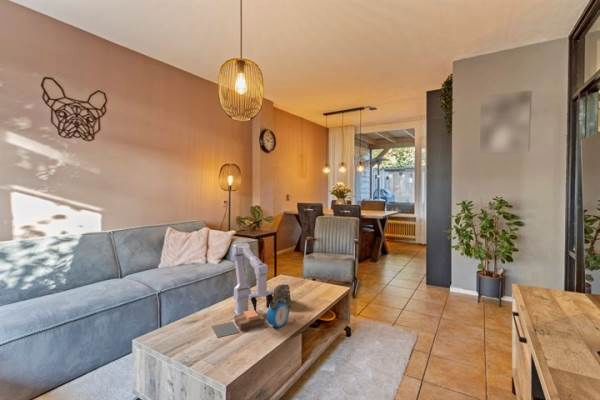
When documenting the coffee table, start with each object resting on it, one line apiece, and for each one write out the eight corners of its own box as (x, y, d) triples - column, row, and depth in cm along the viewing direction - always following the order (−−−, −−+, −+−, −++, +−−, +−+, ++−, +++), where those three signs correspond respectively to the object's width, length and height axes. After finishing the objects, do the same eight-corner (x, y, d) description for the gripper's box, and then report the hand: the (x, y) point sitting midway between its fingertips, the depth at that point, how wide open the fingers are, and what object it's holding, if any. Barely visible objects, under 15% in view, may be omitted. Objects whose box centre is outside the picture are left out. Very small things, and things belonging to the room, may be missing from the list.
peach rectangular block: (243, 314, 173) (243, 311, 173) (253, 312, 176) (253, 309, 176) (248, 321, 165) (248, 317, 165) (258, 318, 168) (258, 315, 168)
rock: (295, 281, 196) (272, 277, 194) (293, 302, 186) (269, 298, 185) (290, 291, 210) (269, 288, 208) (288, 312, 200) (266, 308, 199)
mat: (211, 326, 167) (211, 326, 167) (232, 321, 172) (232, 321, 172) (217, 337, 154) (217, 337, 154) (239, 332, 160) (239, 331, 160)
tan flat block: (234, 322, 172) (234, 315, 172) (256, 317, 179) (256, 310, 179) (240, 331, 162) (241, 324, 161) (264, 325, 169) (264, 318, 168)
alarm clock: (274, 331, 162) (274, 305, 161) (266, 328, 166) (266, 302, 165) (289, 322, 172) (289, 297, 171) (281, 319, 176) (281, 295, 175)
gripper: (251, 290, 160) (251, 314, 160) (276, 285, 167) (275, 309, 167) (247, 285, 166) (247, 309, 167) (271, 282, 173) (270, 304, 174)
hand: (261, 308), depth 167 cm, fingers open, 7 cm apart
